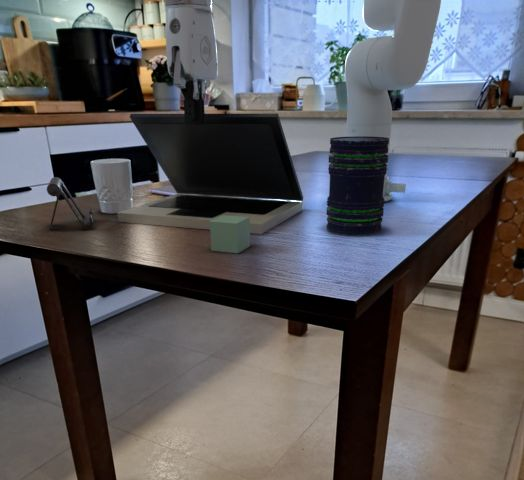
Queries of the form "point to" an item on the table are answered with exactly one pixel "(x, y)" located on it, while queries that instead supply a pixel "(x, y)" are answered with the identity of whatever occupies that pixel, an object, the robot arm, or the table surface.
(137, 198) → the table surface
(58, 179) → the tablet stand
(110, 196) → the white cup
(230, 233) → the block
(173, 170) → the laptop screen
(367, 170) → the storage jar
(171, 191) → the mobile phone
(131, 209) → the laptop base
